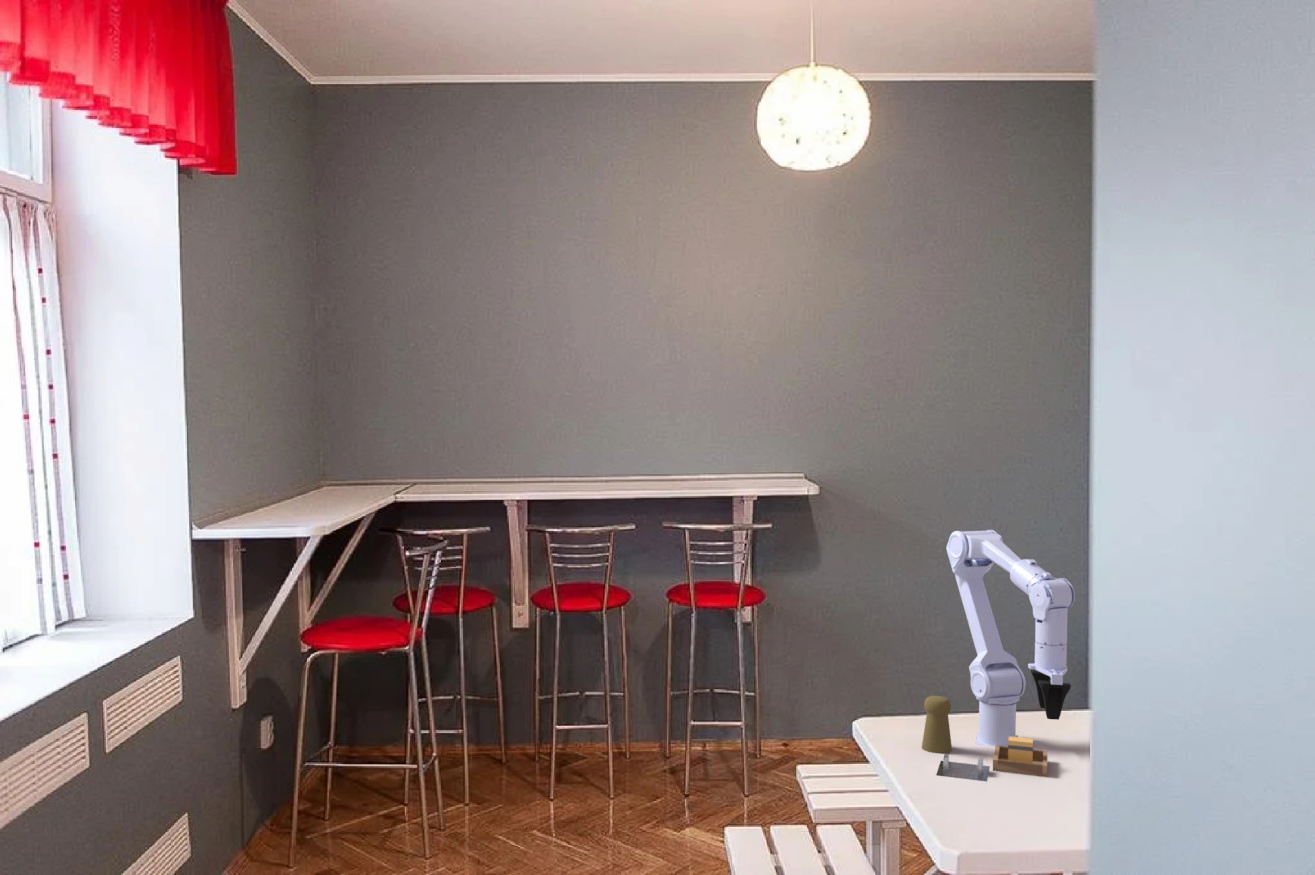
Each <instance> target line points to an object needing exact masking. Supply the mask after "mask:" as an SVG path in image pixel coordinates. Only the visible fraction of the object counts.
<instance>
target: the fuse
mask: <svg viewBox="0 0 1315 875" xmlns="http://www.w3.org/2000/svg"><path fill="white" fill-rule="evenodd" d="M1033 749H1034V739H1033V738H1028V737H1019V736H1018V737H1010V736H1009V739H1008V760H1010V761H1019V762H1028V763H1033Z"/></svg>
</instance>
